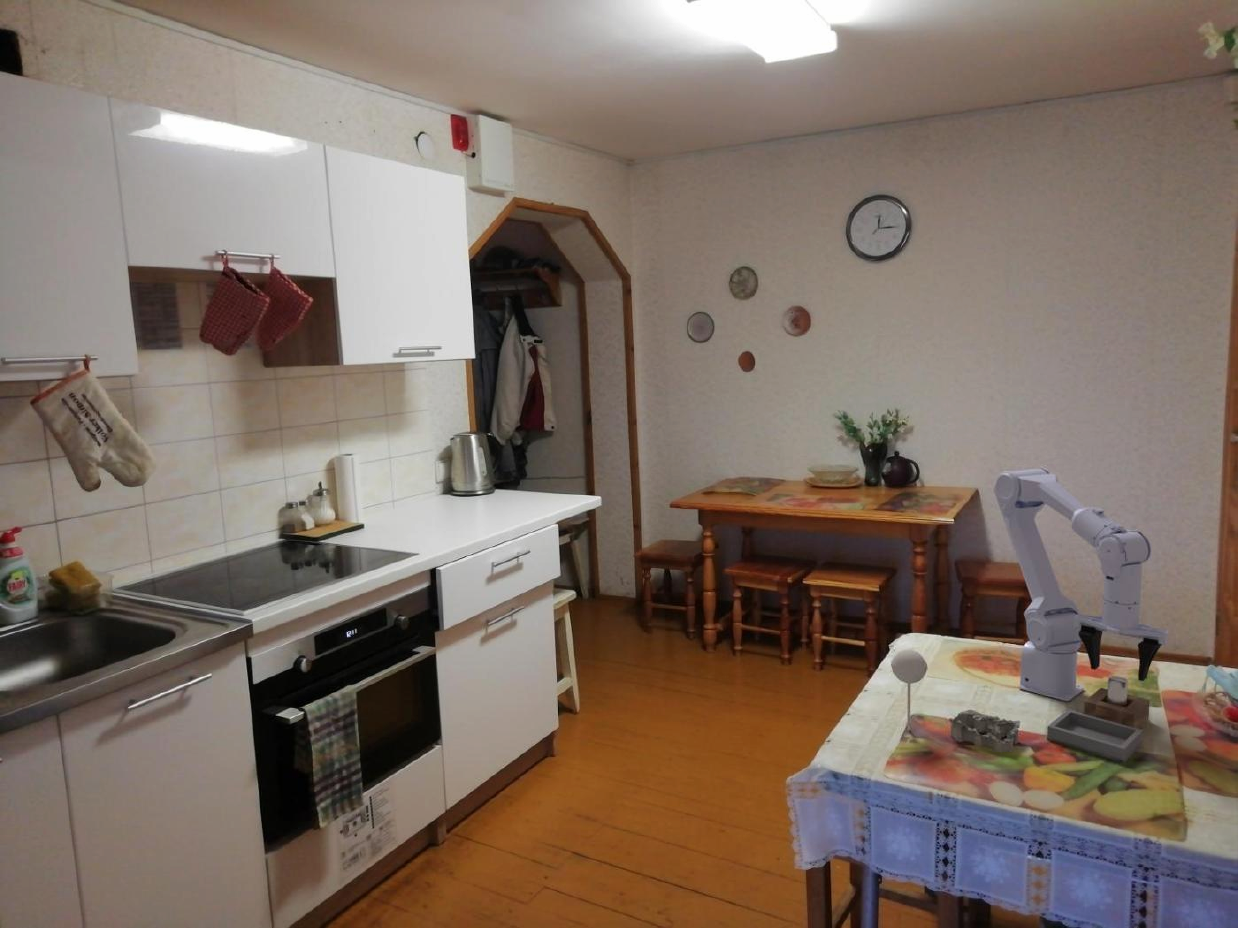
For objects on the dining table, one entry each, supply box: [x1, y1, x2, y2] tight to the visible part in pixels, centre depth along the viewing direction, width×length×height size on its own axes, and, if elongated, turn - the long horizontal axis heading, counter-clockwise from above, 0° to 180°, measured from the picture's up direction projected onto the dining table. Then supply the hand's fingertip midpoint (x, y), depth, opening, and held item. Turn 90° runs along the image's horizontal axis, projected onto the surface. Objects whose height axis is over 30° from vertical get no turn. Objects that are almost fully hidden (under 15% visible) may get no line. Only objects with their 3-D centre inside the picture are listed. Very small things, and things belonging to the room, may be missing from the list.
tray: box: [1046, 709, 1144, 764], centre depth 146 cm, size 12×9×2 cm
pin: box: [1107, 675, 1129, 708], centre depth 153 cm, size 3×3×8 cm
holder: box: [1083, 687, 1151, 730], centre depth 153 cm, size 8×8×4 cm
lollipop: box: [890, 649, 929, 732], centre depth 153 cm, size 6×6×15 cm
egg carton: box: [948, 709, 1021, 753], centre depth 149 cm, size 11×8×4 cm
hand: (1118, 673), depth 152 cm, fingers open, 7 cm apart
